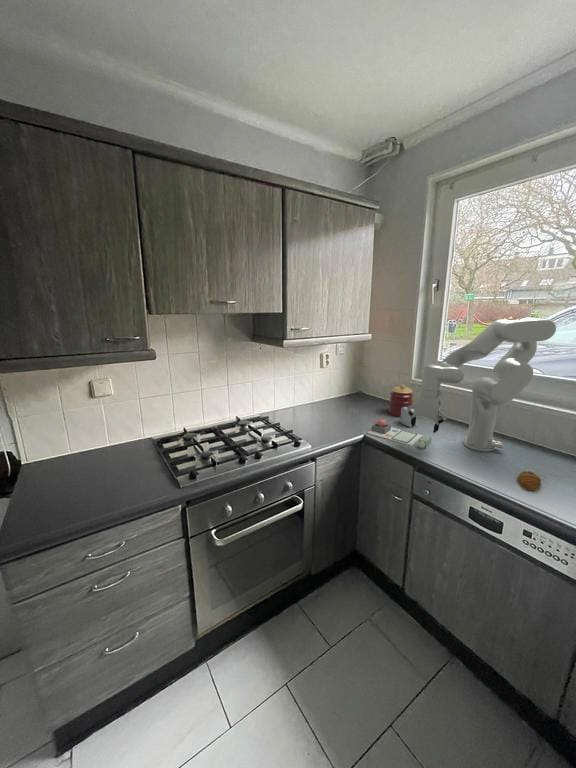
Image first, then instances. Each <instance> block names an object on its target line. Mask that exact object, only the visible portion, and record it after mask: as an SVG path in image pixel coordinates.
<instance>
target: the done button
mask: <svg viewBox="0 0 576 768" xmlns="http://www.w3.org/2000/svg"><path fill="white" fill-rule="evenodd" d="M376 423H377V426H379V427H383V428H385V427H386V424H387V420H386V419H383V418H379V419H377V421H376Z"/></svg>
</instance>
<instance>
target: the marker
mask: <svg viewBox="0 0 576 768" xmlns="http://www.w3.org/2000/svg"><path fill="white" fill-rule="evenodd" d="M432 437H433V436H431V435H426V434H424V435H422V437H421V438H420V439H419V440H418V444H417V446H418V448H420V449H427V448H428V447H429V446H430V445H431V444H432V440H433V439H432Z"/></svg>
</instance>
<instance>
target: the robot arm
mask: <svg viewBox="0 0 576 768" xmlns="http://www.w3.org/2000/svg"><path fill="white" fill-rule="evenodd" d="M556 331H557V326H556V324H555V322H554V321H553V320H552V319H548V318H537V317H522V318H520V319H518V320H510V319H497V320H495V321H493V322H492V323H491V324H489V325H488V326H487V327H485V328H484V330H482V331H481V332H480V333H479V334H478V335H477V336H476V337H475V338H473V340H471V341H470V342H469V343H467V344H465V345H464V346H461V347H460V348H458V349H457V350H454V351H452V352H451V353H450V354H448V355H447V356H446V357H445V358H443V359H442V360H441V361H440V363H438V364H434V363H433V364H432V363H431V364H430V363H429V364H425V365H424V367H423V371H422V378H421V383H420V384H421V385H420V392H419V393H417V398H416V401H415V404H413V406H409V407H407V410H408V413H409V415H410V416H411V424H412V425H411V427H410V428H414V427H413V426H415V423H416V415H417V417H421V418H424V419H428V420H433V422H434V423H435V424H434V426H433V431H432V432H433V433H434V434H436V433H437V432H439V428H440V424H442V423H444V422H445V421H446V420H447V418H449V417H448V415H447V414H445V413H444V412H443V411H441V406H442V404H441V403H442V399H441V397H443V393H444V392H441V383H444V384H447V385H457V384H460V383H461V382H462V381H463V380H464V378H465V374H464V371H463V370H462V369H461V368H460V367H462V366H463V365H464V364H466V363H468V362H471V361H476V360H481V359H484V358H487V357H488V356H489V354H491V353H492V352H494V350H495V349H496V348H498V346H499V347H500V345H501V344H503V343H504V342H506V343H513V345H512V346H511V347H510V349H509V350H508V351H507V352H506V353H505V354H504V355H503V356H502V357H501V358H500V360H498V361H497V363H496V364H495V365H494V366H493V369H492V373H493V375H494V376H495V377H496V378H498V379H499V380H496V379H494V378H492V377H488V376H487V377H486V376H484V377H479V378H478V379H476V380H475V381H474V382H473V385H472V389H471V390H472V391H471V393H472V404H471V412H470V418H469V424H468V425H469V426H468V431H467V437H466V438H464V439H463V440H462V444H463V445H464V446H465V447H467V448H468V449H471V450H473V451H479V452H483V453H484V452H485V453H486V452H487V453H489V452H493V451H494V450H496V449H495V448H498V449H504V444H503V443H502V442H501V441H496V440H495V436H494V432H495V431H494V430H495V423H496V420H497V414H498V407H504V406H506V405H508V404H510V403H511V402H512V401H513V400H514V399H515V398H516V397H518V395H519V394H520V393H521V392H522V391H523V390H524V389H526V387H527V386H528V385H529V384H530V382H531V381H532V379H533V377H534V368H533V367H532V366H531V365H530V364H529V362H530V361H531V360H532V359H533V358H534V356H535V355H536V352H537V348H538V342H543V341H544V342H545V341H548V340H549V339H551V338H552V337H553V336H554V335H555V334H556ZM411 409H414V414H413V412H412V411H411ZM440 416H441V417H442V418H441V419H439V418H440ZM415 427H416V426H415ZM493 436H494V437H493Z"/></svg>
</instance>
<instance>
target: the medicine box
mask: <svg viewBox="0 0 576 768" xmlns="http://www.w3.org/2000/svg"><path fill="white" fill-rule="evenodd" d="M411 411H412V412H413V414H414V408H413V409H411ZM399 422H400V424H403V425H405V426H407V427H408V428H414V427H417V425H418V416H417V415H416V423H415V426H413V427H411V425H412V424H411V416H410V415H409V413H408V410H407V407H403V408H401V417H400V421H399Z"/></svg>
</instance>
